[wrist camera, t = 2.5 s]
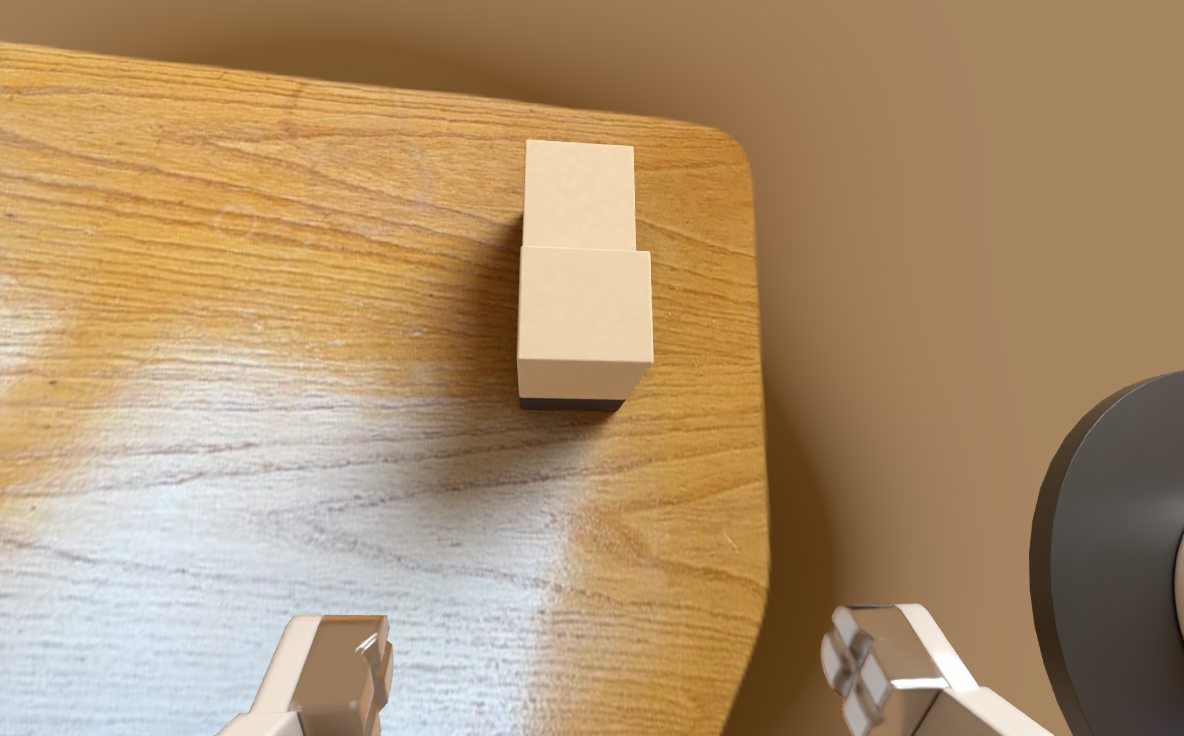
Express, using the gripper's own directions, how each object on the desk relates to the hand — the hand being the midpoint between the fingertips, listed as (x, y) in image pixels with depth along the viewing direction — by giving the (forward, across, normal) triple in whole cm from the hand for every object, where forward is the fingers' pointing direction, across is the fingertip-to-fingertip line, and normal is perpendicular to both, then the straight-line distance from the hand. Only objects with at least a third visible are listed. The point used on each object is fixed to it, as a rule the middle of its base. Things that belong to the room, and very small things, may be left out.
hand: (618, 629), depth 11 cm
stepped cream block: (+19, 0, +2) cm, 19 cm away
